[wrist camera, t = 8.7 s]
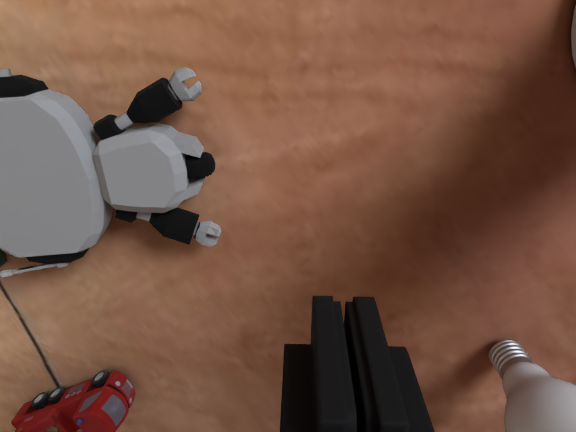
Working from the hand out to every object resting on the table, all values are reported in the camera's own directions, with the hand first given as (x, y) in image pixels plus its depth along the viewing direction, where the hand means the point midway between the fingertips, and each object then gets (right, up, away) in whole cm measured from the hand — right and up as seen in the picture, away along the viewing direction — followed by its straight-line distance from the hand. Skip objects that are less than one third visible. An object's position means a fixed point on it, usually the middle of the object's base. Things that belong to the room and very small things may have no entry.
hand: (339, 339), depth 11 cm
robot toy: (-13, +7, +16) cm, 22 cm away
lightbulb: (+16, -7, +22) cm, 29 cm away
